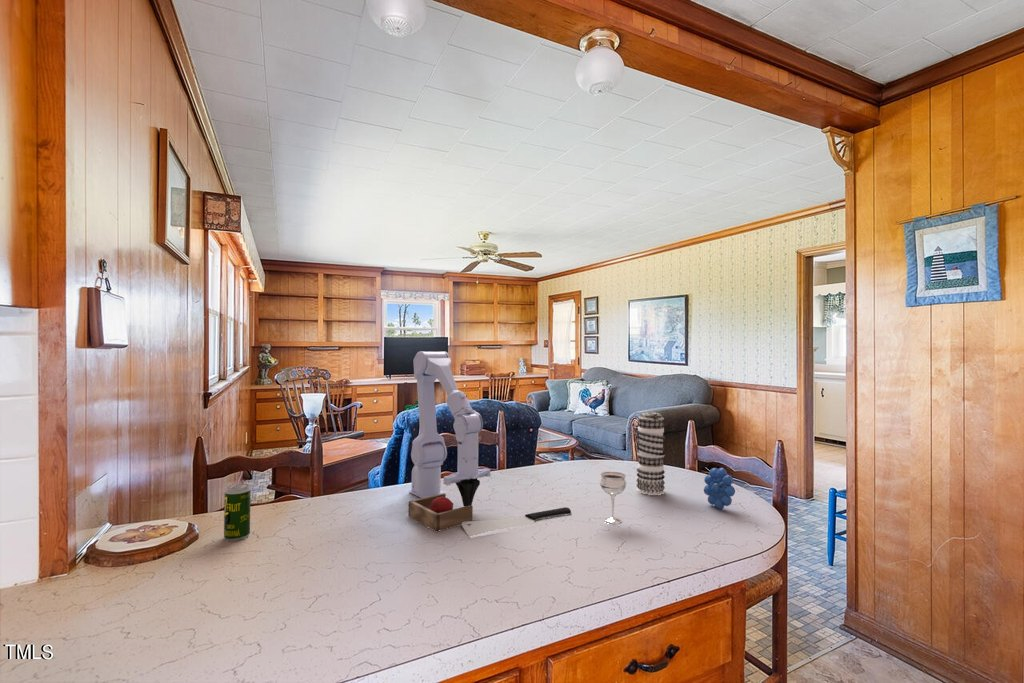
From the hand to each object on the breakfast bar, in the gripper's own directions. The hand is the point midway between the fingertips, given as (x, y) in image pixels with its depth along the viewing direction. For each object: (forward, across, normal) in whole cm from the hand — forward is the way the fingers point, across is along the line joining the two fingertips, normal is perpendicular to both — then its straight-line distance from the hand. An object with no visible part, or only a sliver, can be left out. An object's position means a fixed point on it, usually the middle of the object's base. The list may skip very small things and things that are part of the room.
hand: (467, 506), depth 131 cm
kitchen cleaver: (+2, +6, -16) cm, 18 cm away
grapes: (+2, +58, -43) cm, 73 cm away
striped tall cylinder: (+2, +56, -22) cm, 60 cm away
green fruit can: (+2, -52, +20) cm, 56 cm away
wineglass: (+2, +26, -30) cm, 39 cm away
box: (+1, -9, 0) cm, 9 cm away
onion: (-2, -5, -1) cm, 6 cm away
